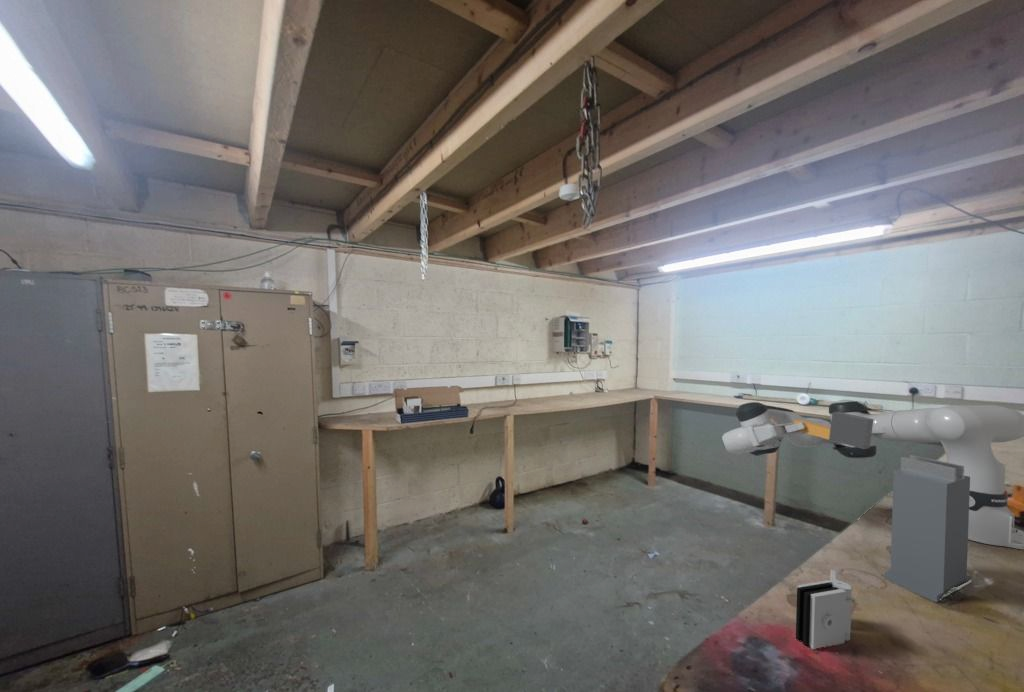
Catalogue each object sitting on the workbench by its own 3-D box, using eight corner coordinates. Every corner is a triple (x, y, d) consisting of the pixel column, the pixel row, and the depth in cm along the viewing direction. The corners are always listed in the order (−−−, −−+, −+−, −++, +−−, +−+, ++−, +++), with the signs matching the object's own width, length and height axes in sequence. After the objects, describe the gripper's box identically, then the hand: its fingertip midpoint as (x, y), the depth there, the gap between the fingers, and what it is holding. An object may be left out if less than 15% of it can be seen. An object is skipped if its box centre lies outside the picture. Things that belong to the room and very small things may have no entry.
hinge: (829, 616, 79) (831, 568, 79) (862, 634, 74) (864, 584, 74) (791, 637, 73) (793, 586, 73) (823, 659, 68) (825, 604, 68)
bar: (799, 429, 119) (802, 404, 118) (869, 448, 103) (873, 419, 102) (793, 429, 118) (796, 404, 117) (863, 449, 102) (867, 420, 101)
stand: (919, 562, 99) (923, 452, 99) (971, 582, 91) (976, 462, 90) (883, 578, 92) (887, 460, 92) (936, 602, 84) (941, 472, 83)
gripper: (790, 441, 130) (833, 432, 118) (750, 447, 121) (793, 438, 110) (782, 423, 132) (824, 412, 120) (742, 427, 124) (783, 416, 112)
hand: (809, 424), depth 115 cm, fingers closed on bar, 3 cm apart
